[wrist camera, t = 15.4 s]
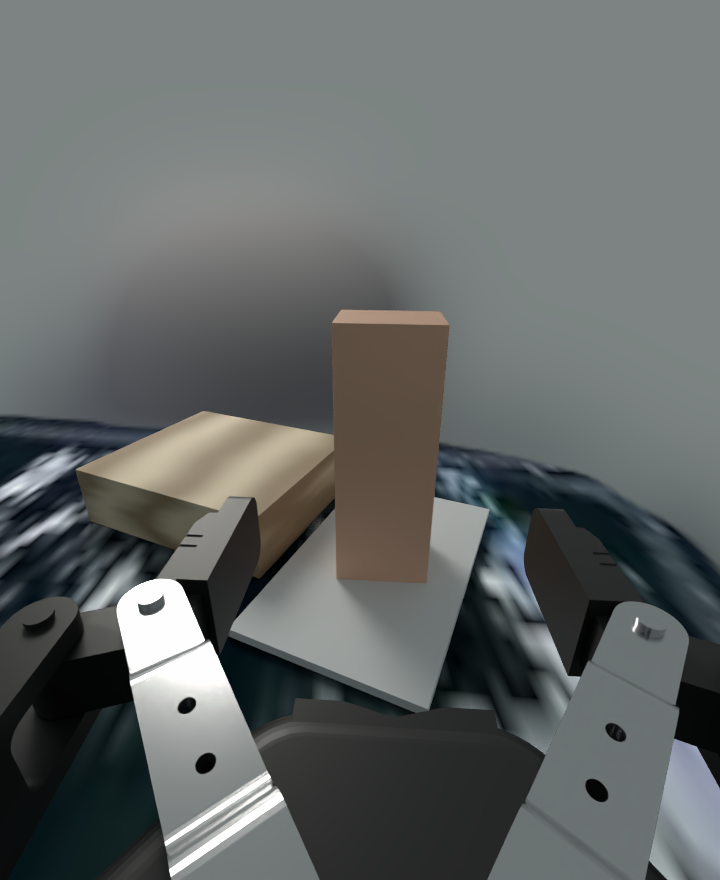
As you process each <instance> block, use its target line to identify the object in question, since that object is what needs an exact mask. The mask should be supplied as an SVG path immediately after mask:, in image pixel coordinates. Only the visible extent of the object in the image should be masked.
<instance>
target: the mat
mask: <svg viewBox="0 0 720 880" xmlns="http://www.w3.org/2000/svg"><path fill="white" fill-rule="evenodd" d="M488 515H489V509H485V508H481V507H476V506H472V505H467V504H463V503H458V502H454V501H449V500H445V499H440V498H436V497H434V505H433V516H432V527H431V539H430V550H429V561H428V572H427V583H408V582H389V581H369V580H350V579H336V528H335V509H334V510H333V511H332V512H331V513H330V514H329V516H328V517H327V518H326V519H325V520H324V521H323V522H322V523H321V525H320V526H319V527H318V528H317V529H316V530H315V531H314V532H313V534H312V535H311V536H310V537H309V538H308V539H307V540H306V541H305V543H304V544H303V545H302V546H301V547H300V548H299V549H298V550H297V552H296V553H295V554H294V555H293V556H292V557H291V558H290V559H289V560H288V562H287V563H286V564H285V565H284V566H283V567H282V568H281V569H280V571H279V572H278V573H277V574H276V575H275V576H274V577H273V578H272V580H271V581H270V582H269V583H268V584H267V585H266V586H265V587H264V589H263V590H262V591H261V592H260V593H259V594H258V595H257V596H256V597H255V599H254V600H253V601H252V602H251V603H250V604H249V605H248V606H247V608H246V609H245V610H244V611H243V612H242V613H241V614H240V615H239V617H238V618H237V619H236V620H235V621H234V622H233V624H232V627H231V629H230V632H229V634H228V635H229V637H232V638H234V639H236V640H239V641H241V642H244V643H246V644H249V645H251V646H254V647H256V648H258V649H261V650H263V651H266V652H268V653H271V654H273V655H276V656H278V657H280V658H283V659H285V660H288V661H290V662H293V663H295V664H298V665H300V666H302V667H305V668H307V669H310V670H312V671H315V672H317V673H320V674H322V675H324V676H327V677H329V678H332V679H334V680H337V681H339V682H341V683H344V684H346V685H349V686H351V687H354V688H356V689H359V690H361V691H363V692H366V693H368V694H371V695H373V696H376V697H378V698H381V699H383V700H385V701H388V702H390V703H393V704H395V705H398V706H400V707H403V708H405V709H407V710H410V711H412V712H415V713H419V712H424V711H429V709H430V706H431V703H432V700H433V696H434V693H435V690H436V686H437V683H438V680H439V676H440V673H441V670H442V667H443V663H444V660H445V657H446V653H447V650H448V647H449V644H450V640H451V637H452V634H453V630H454V627H455V624H456V621H457V617H458V614H459V611H460V607H461V604H462V601H463V598H464V594H465V591H466V588H467V584H468V581H469V578H470V575H471V571H472V568H473V565H474V561H475V558H476V555H477V552H478V548H479V545H480V542H481V538H482V535H483V532H484V529H485V525H486V522H487V519H488Z"/></svg>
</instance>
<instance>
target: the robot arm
mask: <svg viewBox="0 0 720 880" xmlns="http://www.w3.org/2000/svg"><path fill="white" fill-rule="evenodd" d="M260 549H261V539H260V529H259V520H258V510H257V502H256V499H255V498H254V497H234V496H229V497H228V498H227V499H226V500H225V502H224V503H223V505H222V507H221V508H220V510H219V511H218V513H210V512H209V513H208V514H206V515H205V516H204V517H202V518H201V519H199V520H198V521H197V522H195V523H194V525H193V526H192V528H191V529H190V531H189V532H188V534H187V537H185V538H184V539H183V541H182V542H181V544H180V547H178V548H177V549H176V551H175V552H174V554H173V555H172V557H171V558H170V560H169V561H168V562H167V564H166V565H165V567H164V568H163V570H162V571H161V572H160V574H159V575H158V577H157V578H156V580H152V581H149V582H145V583H143V584H140V585H138V586H136V587H135V588H133V589H132V590H130V591H129V592H128V593H126V594H125V595H124V596H123V597H122V599H121V600H120V602H119V604H118V605H117V606H113V607H108V608H103V609H98V610H93V611H87V612H82V613H80V612H79V609H78V606H77V604H76V602H75V601H74V600H73V599H70V598H67V597H52V598H47V599H43V600H40V601H37V602H35V603H32V604H30V605H28V606H26V607H24V608H23V609H21V610H20V611H18V612H17V613H15V614H14V615H13V616H12V617H11V618H10V619H9V620H8V621H7V622H6V623H5V624H4V625H3V626H2V627H1V628H0V880H7V879H8V877H9V876H10V874H11V872H12V870H13V868H14V867H15V865H16V863H17V861H18V859H19V858H20V856H21V854H22V852H23V850H24V849H25V847H26V845H27V843H28V841H29V839H30V838H31V836H32V834H33V832H34V830H35V829H36V827H37V825H38V823H39V821H40V820H41V818H42V816H43V814H44V812H45V811H46V809H47V807H48V805H49V803H50V801H51V800H52V798H53V796H54V794H55V792H56V791H57V789H58V787H59V785H60V783H61V782H62V780H63V778H64V776H65V774H66V773H67V771H68V769H69V767H70V765H71V763H72V762H73V760H74V758H75V756H76V754H77V753H78V751H79V749H80V747H81V745H82V744H83V742H84V740H85V738H86V736H87V735H88V733H89V731H90V729H91V727H92V725H93V724H94V722H95V720H96V718H97V716H98V715H99V713H100V711H101V709H102V708H106V707H110V706H114V705H118V704H122V703H126V702H130V701H134V702H135V707H136V711H137V716H138V721H139V725H140V730H141V735H142V739H143V744H144V748H145V753H146V758H147V762H148V767H149V772H150V776H151V781H152V786H153V790H154V795H155V799H156V804H157V809H158V813H159V818H158V819H157V820H156V821H155V822H154V823H153V824H152V825H151V826H150V827H149V828H148V829H147V830H146V831H145V832H144V833H143V834H142V835H141V836H140V837H139V838H137V839H136V840H135V841H134V842H133V843H132V844H131V845H130V846H129V847H128V848H127V849H126V850H125V851H124V852H123V853H122V854H121V855H120V856H119V857H118V858H117V859H116V860H115V861H113V862H112V863H111V864H110V865H109V866H108V867H107V868H106V869H105V870H104V871H103V872H102V873H101V874H100V875H99V876H98V877H97V878H96V879H95V880H667V879H666V878H665V877H664V876H663V875H662V874H661V873H660V872H659V871H658V870H657V869H656V868H655V867H654V866H653V865H652V863H651V862H650V861H649V857H650V853H651V848H652V843H653V838H654V833H655V828H656V823H657V818H658V814H659V809H660V804H661V799H662V794H663V789H664V784H665V779H666V775H667V770H668V765H669V760H670V755H671V750H672V745H673V740H674V739H677V740H680V741H683V742H685V743H688V744H691V745H694V746H697V748H698V750H699V751H700V753H701V755H702V757H703V759H704V760H705V762H706V764H707V766H708V768H709V769H710V771H711V773H712V775H713V777H714V778H715V780H716V782H717V784H718V786H719V788H720V645H719V644H715V643H711V642H708V641H704V640H701V639H697V638H694V637H691V636H688V634H687V632H686V630H685V629H684V627H683V626H682V625H681V624H680V623H679V622H678V621H677V620H676V619H675V618H674V617H672V616H671V615H669V614H668V613H666V612H665V611H663V610H661V609H659V608H657V607H654V606H652V605H649V604H645V603H644V602H643V600H642V599H641V598H640V596H639V595H638V593H637V592H636V591H635V589H634V588H633V586H632V585H631V584H630V582H629V581H628V579H627V578H626V576H625V575H624V574H623V572H622V571H621V569H620V568H619V567H617V565H616V562H615V561H614V560H613V558H612V557H611V556H609V553H608V551H607V550H606V548H605V547H604V545H603V544H602V543H601V541H600V540H599V539H598V538H596V537H595V536H594V535H592V534H591V533H590V532H588V531H587V530H586V529H584V528H576V527H575V525H574V524H573V522H572V521H571V519H570V518H569V516H568V515H567V513H566V512H565V511H564V510H562V509H538V508H536V509H534V511H533V513H532V516H531V521H530V526H529V531H528V537H527V542H526V547H525V552H524V567H525V572H526V576H527V578H528V581H529V583H530V585H531V588H532V590H533V593H534V595H535V597H536V600H537V602H538V605H539V607H540V610H541V612H542V614H543V617H544V619H545V622H546V624H547V626H548V629H549V631H550V634H551V636H552V639H553V641H554V643H555V646H556V648H557V651H558V653H559V656H560V658H561V660H562V663H563V665H564V668H565V670H566V672H567V675H568V676H579V677H581V678H580V680H579V683H578V685H577V687H576V689H575V691H574V694H573V696H572V698H571V700H570V703H569V705H568V707H567V709H566V711H565V714H564V716H563V718H562V720H561V723H560V725H559V727H558V729H557V731H556V734H555V736H554V738H553V740H552V743H551V745H550V747H549V749H548V751H547V754H546V755H545V754H543V753H542V752H541V751H540V750H538V749H537V748H535V747H534V746H533V745H531V744H530V743H528V742H526V741H525V740H523V739H521V738H519V737H518V736H515V735H513V734H511V733H509V732H506V731H504V730H501V729H498V728H497V723H496V719H495V715H494V710H479V709H462V708H446V707H444V708H439V709H434V710H429V711H424V712H419V713H414V714H409V715H404V716H398V717H392V716H388V715H384V714H381V713H378V712H375V711H372V710H369V709H366V708H363V707H360V706H357V705H354V704H350V703H347V702H344V701H331V700H314V699H298V698H296V700H295V705H294V710H293V715H291V716H286V717H283V718H280V719H277V720H274V721H271V722H269V723H267V724H265V725H263V726H261V727H259V728H257V729H256V730H254V731H252V732H251V733H250V730H249V728H248V726H247V724H246V721H245V719H244V717H243V714H242V712H241V710H240V708H239V705H238V703H237V701H236V698H235V696H234V694H233V692H232V689H231V687H230V685H229V682H228V680H227V678H226V676H225V673H224V671H223V669H222V667H221V664H220V662H219V660H218V657H217V655H220V654H221V651H222V649H223V646H224V644H225V642H226V639H227V637H228V634H229V632H230V629H231V627H232V624H233V622H234V620H235V617H236V615H237V612H238V610H239V607H240V605H241V602H242V600H243V598H244V595H245V593H246V590H247V588H248V585H249V583H250V581H251V578H252V576H253V573H254V571H255V568H256V566H257V563H258V561H259V556H260Z"/></svg>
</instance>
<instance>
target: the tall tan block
mask: <svg viewBox="0 0 720 880" xmlns="http://www.w3.org/2000/svg"><path fill="white" fill-rule="evenodd" d="M448 336H449V324H448V322H447V321H446V319H444V317H443V315H442V314H441V312H438V311H435V312H434V311H432V312H431V311H377V310H341V311H340V312H339V314H338V315H337V317H336V318H335V319H334V321H333V322H332V362H333V418H334V473H335V528H336V579H350V580H369V581H389V582H408V583H427V572H428V561H429V550H430V539H431V527H432V516H433V505H434V494H435V482H436V471H437V460H438V449H439V437H440V425H441V415H442V404H443V392H444V381H445V370H446V358H447V347H448Z"/></svg>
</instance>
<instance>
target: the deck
mask: <svg viewBox="0 0 720 880" xmlns="http://www.w3.org/2000/svg"><path fill="white" fill-rule="evenodd" d="M75 470H76V474H77V477H78V481H79V484H80V488H81V491H82V494H83V498H84V501H85V505H86V508H87V512H88V515H89V519H90V521H92V522H95V523H98V524H101V525H103V526H106V527H109V528H112V529H115V530H118V531H121V532H124V533H127V534H130V535H133V536H136V537H139V538H142V539H145V540H148V541H150V542H153V543H156V544H159V545H162V546H165V547H168V548H171V549H174V550H176V549H177V548H178V547H180V544H181V542H182V541H183V539H184V538H185V537H187V534H188V532H189V531H190V529H191V528H192V526H193V525H194V523H195V522H197V521H198V520H199V519H201V518H202V517H204V516H205V515H206V514H208V513H209V512H210V513H218V511H219V510H220V508H221V507H222V505H223V503H224V502H225V500H226V499H227V498H228V497H229V496H234V497H254V498H255V499H256V502H257V510H258V520H259V529H260V539H261V549H260V556H259V561H258V563H257V566H256V568H255V571H254V573H253V577H256V578H259V579H260V578H261V577H262V576H263V575H264V574H265V573H266V572H267V570H268V569H269V568H270V567H271V566H272V565H273V564H274V563H275V562H276V561H277V560H278V559H279V558H280V556H281V555H282V554H283V553H284V552H285V551H286V550H287V549H288V548H289V547H290V546H291V545H292V544H293V542H294V541H295V540H296V539H297V538H298V537H299V536H300V535H301V534H302V533H303V532H304V531H305V530H306V528H307V527H308V526H309V525H310V524H311V523H312V522H313V521H314V520H315V519H316V518H317V517H318V516H319V514H320V513H321V512H322V511H323V510H324V509H325V508H326V507H327V506H328V505H329V504H330V503H331V502H332V500H333V499H334V498H335V473H334V435H330V434H324V433H319V432H314V431H308V430H303V429H297V428H292V427H286V426H281V425H276V424H271V423H265V422H260V421H254V420H249V419H243V418H238V417H233V416H228V415H221V414H217V413H211V412H206V411H203V412H200V413H198V414H196V415H194V416H192V417H189V418H187V419H185V420H183V421H181V422H178V423H176V424H174V425H172V426H170V427H167V428H165V429H163V430H161V431H159V432H157V433H154V434H152V435H150V436H148V437H146V438H143V439H141V440H139V441H137V442H135V443H132V444H130V445H128V446H126V447H124V448H121V449H119V450H117V451H115V452H113V453H111V454H108V455H106V456H104V457H102V458H100V459H97V460H95V461H93V462H91V463H89V464H86V465H84V466H82V467H80V468H78V469H75Z"/></svg>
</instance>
